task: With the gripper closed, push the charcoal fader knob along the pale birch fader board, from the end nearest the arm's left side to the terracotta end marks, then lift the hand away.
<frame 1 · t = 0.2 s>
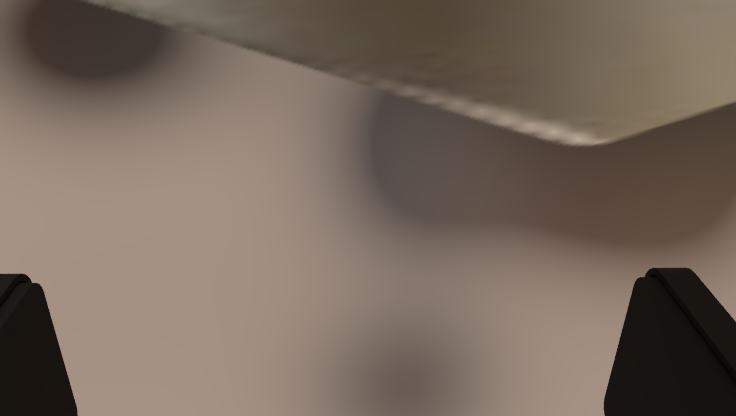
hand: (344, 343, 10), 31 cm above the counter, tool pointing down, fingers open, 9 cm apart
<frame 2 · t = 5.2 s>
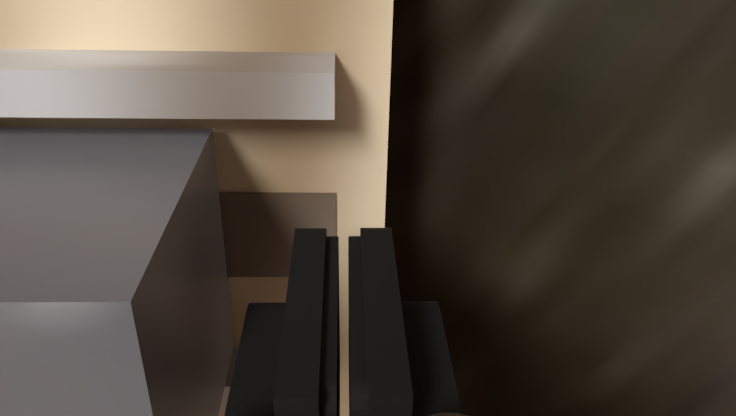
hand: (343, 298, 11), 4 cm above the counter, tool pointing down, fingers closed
fader knob: (40, 336, 10), point 5 cm above the counter, slide at 0.7 cm, touching gripper
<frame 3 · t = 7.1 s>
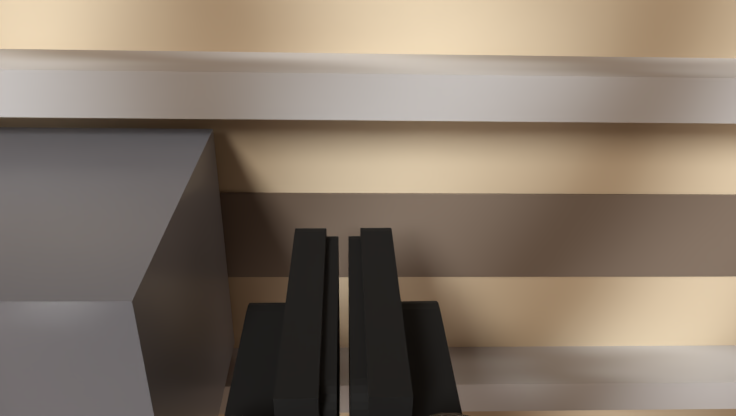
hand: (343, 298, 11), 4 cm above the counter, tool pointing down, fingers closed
fader board: (211, 190, 15), on the counter
fader knob: (41, 335, 10), point 5 cm above the counter, slide at 13.8 cm, touching gripper
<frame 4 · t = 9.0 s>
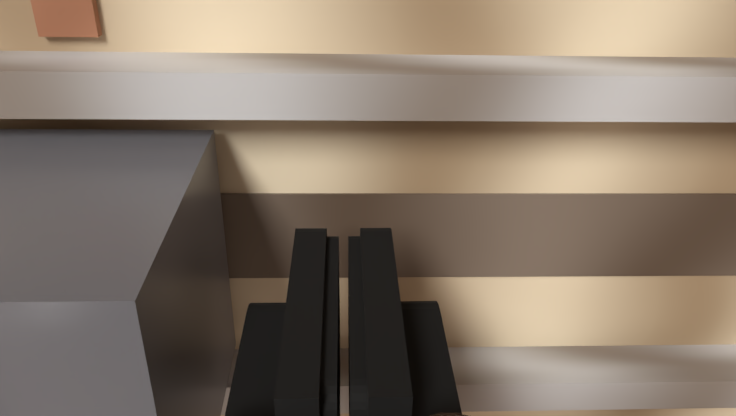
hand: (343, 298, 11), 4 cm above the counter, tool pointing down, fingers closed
fader board: (649, 192, 15), on the counter
fader knob: (43, 336, 10), point 5 cm above the counter, slide at 24.2 cm, touching gripper
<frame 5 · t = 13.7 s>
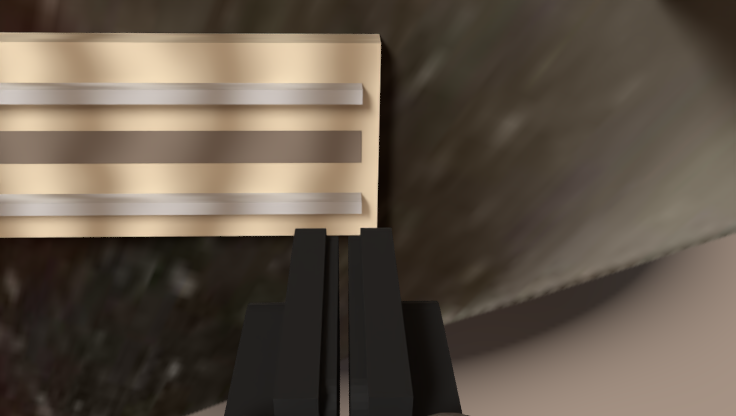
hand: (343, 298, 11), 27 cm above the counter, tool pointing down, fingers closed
fader board: (93, 133, 38), on the counter
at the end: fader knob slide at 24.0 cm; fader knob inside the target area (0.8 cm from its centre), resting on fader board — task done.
